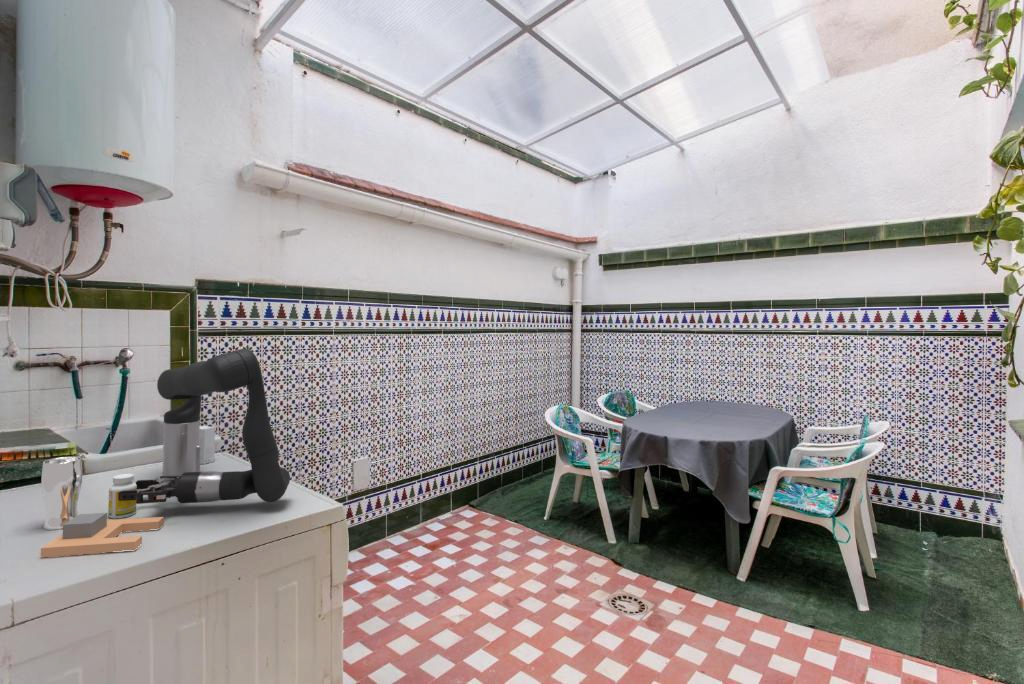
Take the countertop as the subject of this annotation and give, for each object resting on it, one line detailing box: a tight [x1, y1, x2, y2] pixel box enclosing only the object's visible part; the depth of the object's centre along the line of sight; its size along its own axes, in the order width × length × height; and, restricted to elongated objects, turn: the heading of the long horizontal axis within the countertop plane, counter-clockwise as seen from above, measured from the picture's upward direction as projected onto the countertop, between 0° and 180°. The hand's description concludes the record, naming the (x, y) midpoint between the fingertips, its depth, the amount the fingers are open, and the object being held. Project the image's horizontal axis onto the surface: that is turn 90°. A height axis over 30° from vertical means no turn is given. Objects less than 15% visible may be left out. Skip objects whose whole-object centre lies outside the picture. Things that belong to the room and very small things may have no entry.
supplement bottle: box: [107, 473, 137, 520], centre depth 121 cm, size 5×5×10 cm
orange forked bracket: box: [40, 512, 165, 559], centre depth 106 cm, size 16×14×5 cm
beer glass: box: [40, 456, 83, 531], centre depth 114 cm, size 7×7×15 cm
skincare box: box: [199, 425, 216, 465], centre depth 169 cm, size 6×4×12 cm
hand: (127, 490), depth 121 cm, fingers open, 8 cm apart
